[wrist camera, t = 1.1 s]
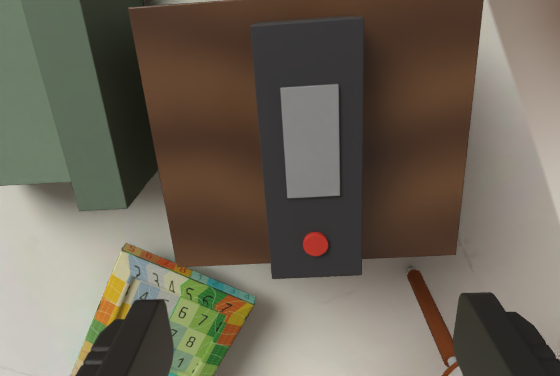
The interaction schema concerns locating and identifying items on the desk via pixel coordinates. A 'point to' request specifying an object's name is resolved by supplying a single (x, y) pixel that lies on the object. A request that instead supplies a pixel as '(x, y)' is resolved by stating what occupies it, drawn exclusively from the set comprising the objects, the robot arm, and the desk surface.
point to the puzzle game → (174, 309)
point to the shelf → (245, 130)
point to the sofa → (74, 100)
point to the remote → (311, 142)
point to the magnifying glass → (434, 322)
